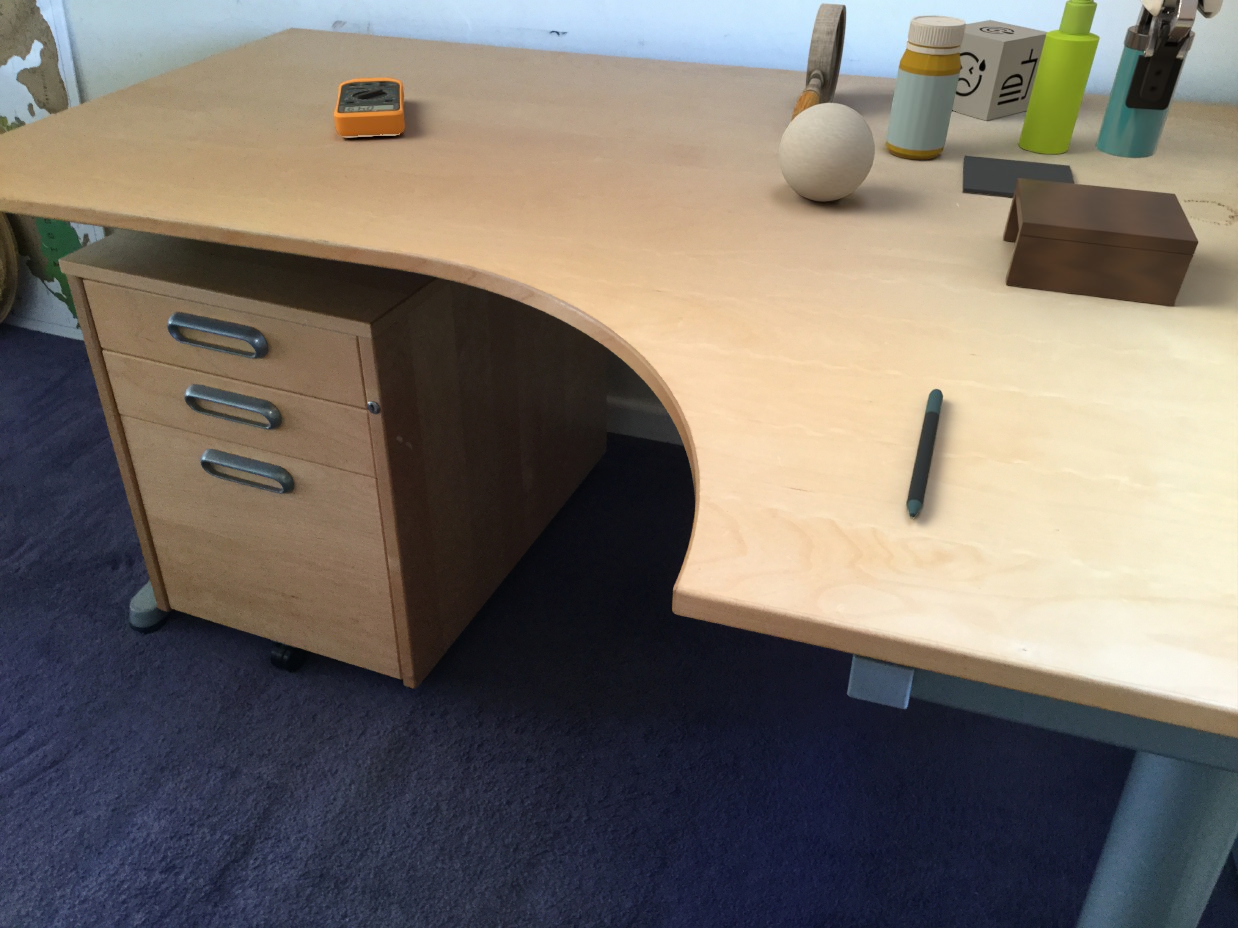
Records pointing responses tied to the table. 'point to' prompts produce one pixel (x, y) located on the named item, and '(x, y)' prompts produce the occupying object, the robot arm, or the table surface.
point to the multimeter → (370, 107)
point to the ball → (826, 152)
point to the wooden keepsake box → (1098, 241)
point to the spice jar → (1129, 126)
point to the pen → (924, 453)
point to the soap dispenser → (1060, 81)
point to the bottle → (925, 87)
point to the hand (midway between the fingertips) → (1141, 97)
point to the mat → (1007, 174)
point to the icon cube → (997, 69)
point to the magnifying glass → (823, 57)
